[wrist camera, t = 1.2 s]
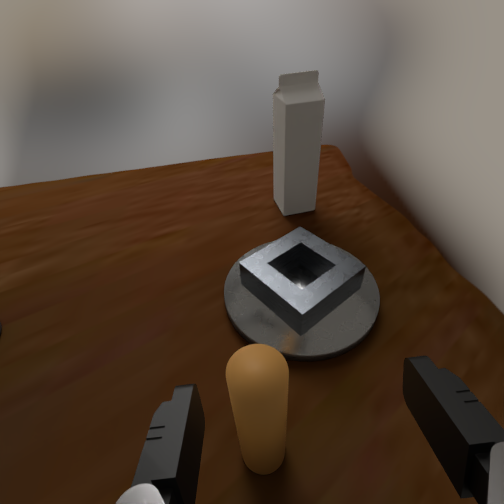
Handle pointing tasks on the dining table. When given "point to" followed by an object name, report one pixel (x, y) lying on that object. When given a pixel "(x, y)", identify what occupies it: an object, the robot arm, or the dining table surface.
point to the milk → (297, 141)
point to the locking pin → (259, 405)
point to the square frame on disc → (302, 297)
